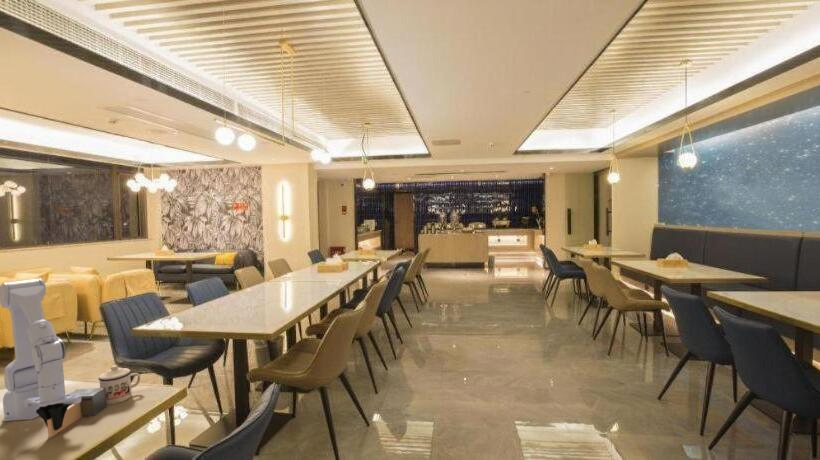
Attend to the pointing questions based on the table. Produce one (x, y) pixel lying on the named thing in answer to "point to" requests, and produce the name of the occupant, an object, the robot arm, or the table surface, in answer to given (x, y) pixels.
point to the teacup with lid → (117, 384)
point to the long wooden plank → (66, 418)
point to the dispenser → (91, 400)
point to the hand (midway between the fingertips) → (55, 428)
